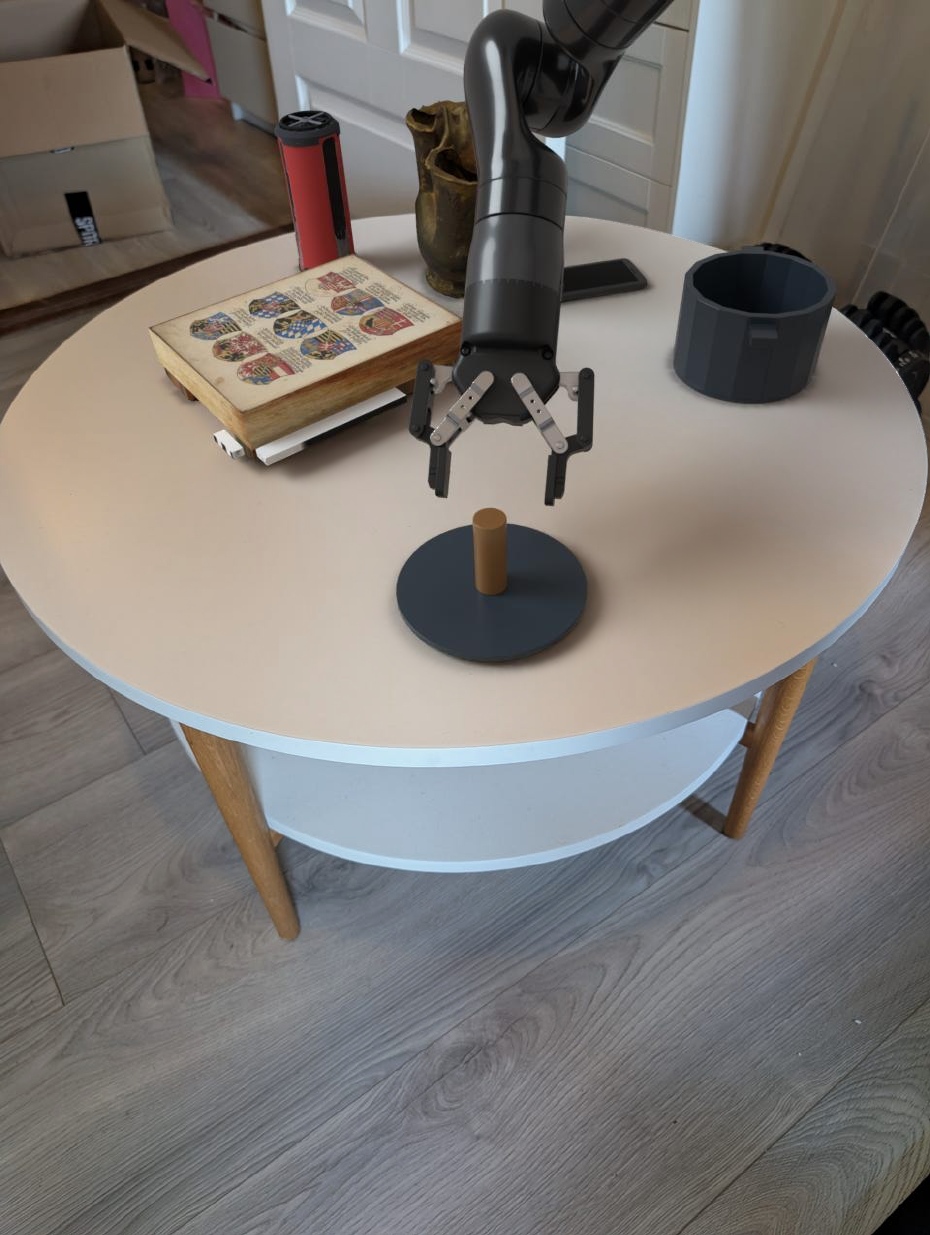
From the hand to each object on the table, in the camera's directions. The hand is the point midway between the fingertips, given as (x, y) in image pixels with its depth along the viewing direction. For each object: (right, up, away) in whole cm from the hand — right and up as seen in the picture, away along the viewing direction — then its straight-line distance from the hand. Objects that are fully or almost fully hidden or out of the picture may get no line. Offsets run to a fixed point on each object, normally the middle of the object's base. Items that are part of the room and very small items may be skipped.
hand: (495, 501), depth 68 cm
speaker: (-20, +37, +47) cm, 64 cm away
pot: (+28, +18, +27) cm, 42 cm away
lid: (0, -7, +3) cm, 8 cm away
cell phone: (+13, +33, +41) cm, 54 cm away
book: (-19, +16, +28) cm, 37 cm away
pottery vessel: (-3, +35, +44) cm, 56 cm away
